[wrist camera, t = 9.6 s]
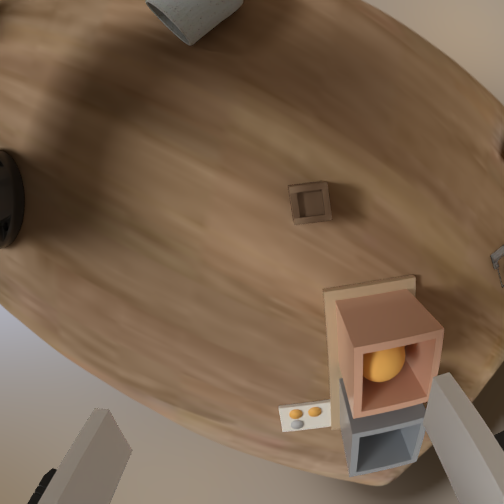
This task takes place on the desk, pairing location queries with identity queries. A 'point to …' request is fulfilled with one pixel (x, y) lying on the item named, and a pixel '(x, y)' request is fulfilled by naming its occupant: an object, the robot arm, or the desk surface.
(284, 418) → the tile
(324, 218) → the stand
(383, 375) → the ball
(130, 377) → the desk surface
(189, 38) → the ceramic mug
